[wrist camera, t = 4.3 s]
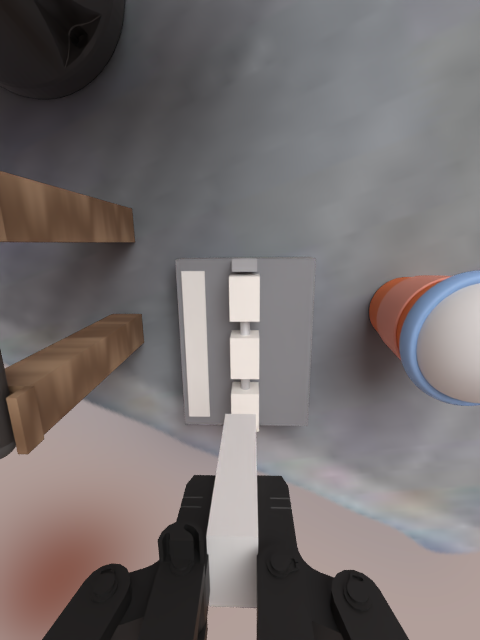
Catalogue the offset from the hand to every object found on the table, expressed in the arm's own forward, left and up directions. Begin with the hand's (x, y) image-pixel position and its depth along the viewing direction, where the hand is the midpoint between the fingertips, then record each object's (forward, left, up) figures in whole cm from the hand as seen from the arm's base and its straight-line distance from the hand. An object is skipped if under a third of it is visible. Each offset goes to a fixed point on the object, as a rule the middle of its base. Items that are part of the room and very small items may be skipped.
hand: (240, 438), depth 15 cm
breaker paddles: (0, 0, -13) cm, 13 cm away
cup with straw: (-3, +15, -16) cm, 22 cm away
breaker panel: (0, 0, -16) cm, 16 cm away
